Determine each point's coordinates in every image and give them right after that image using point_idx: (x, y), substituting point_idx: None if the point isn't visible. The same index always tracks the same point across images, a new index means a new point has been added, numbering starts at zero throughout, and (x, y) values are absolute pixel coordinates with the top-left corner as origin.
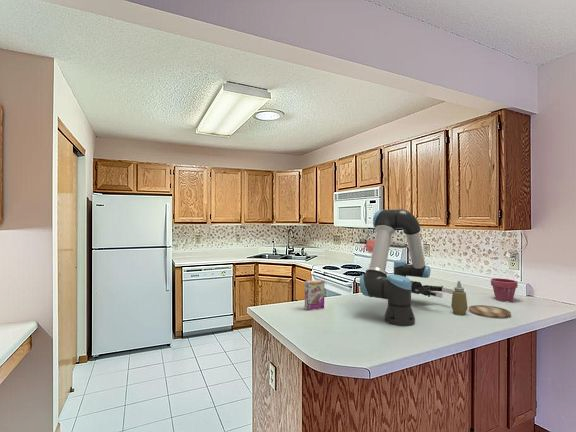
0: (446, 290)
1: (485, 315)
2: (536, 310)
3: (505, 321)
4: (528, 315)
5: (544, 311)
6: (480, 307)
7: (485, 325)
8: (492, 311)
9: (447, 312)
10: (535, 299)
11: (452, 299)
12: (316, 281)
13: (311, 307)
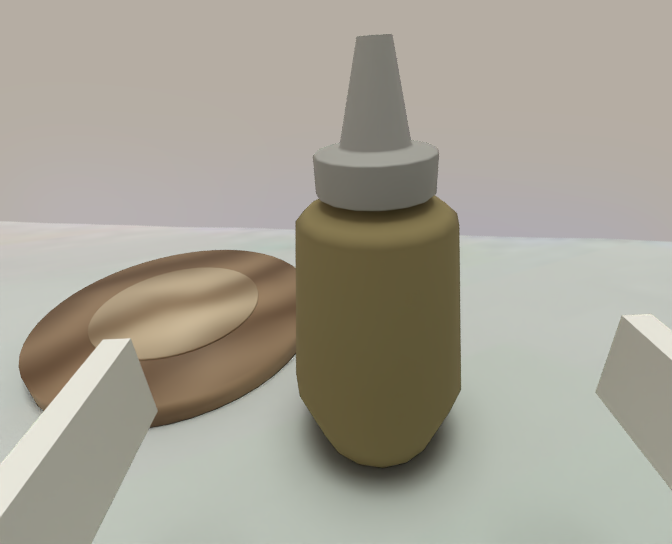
0: (66, 506)
1: None
2: (5, 253)
3: None
4: (131, 247)
5: (16, 241)
6: (135, 347)
7: (472, 267)
8: (216, 287)
9: (463, 514)
10: None
11: (449, 331)
12: None
13: None
